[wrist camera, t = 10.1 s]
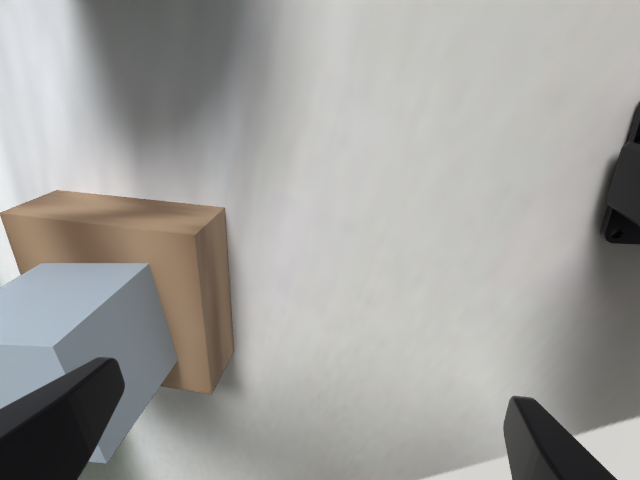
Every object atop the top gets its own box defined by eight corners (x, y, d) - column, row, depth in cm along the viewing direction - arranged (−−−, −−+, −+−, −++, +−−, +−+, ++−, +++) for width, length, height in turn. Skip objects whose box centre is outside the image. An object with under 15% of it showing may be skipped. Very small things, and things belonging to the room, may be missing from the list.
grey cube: (149, 263, 18) (52, 346, 13) (177, 359, 21) (106, 463, 15) (41, 263, 19) (-90, 340, 14) (81, 355, 22) (-18, 451, 16)
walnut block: (227, 205, 21) (194, 235, 17) (236, 346, 25) (211, 394, 22) (62, 188, 22) (-1, 213, 18) (97, 326, 26) (52, 368, 23)
